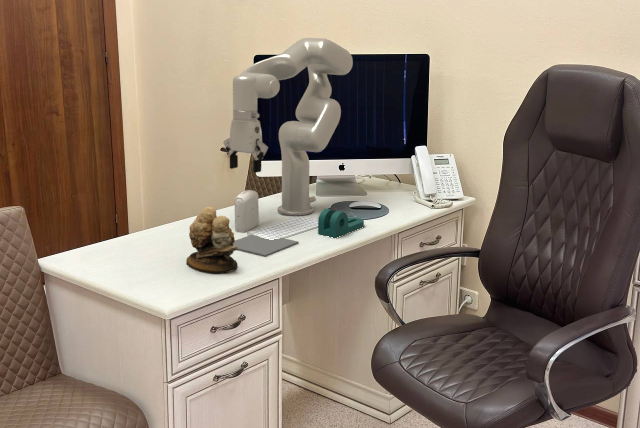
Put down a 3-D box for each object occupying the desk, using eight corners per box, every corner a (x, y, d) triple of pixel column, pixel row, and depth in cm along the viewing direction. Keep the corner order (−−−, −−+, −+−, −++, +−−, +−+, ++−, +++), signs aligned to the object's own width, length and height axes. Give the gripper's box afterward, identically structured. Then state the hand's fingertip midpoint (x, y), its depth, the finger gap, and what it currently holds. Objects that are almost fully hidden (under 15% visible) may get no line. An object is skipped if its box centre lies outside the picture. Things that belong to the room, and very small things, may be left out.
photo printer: (244, 233, 233) (244, 195, 229) (233, 231, 234) (232, 193, 231) (260, 225, 242) (260, 188, 238) (249, 223, 243) (248, 187, 240)
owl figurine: (251, 268, 202) (250, 208, 197) (218, 279, 193) (216, 217, 189) (208, 253, 213) (206, 196, 209) (175, 263, 205) (172, 204, 200)
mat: (257, 234, 232) (257, 232, 232) (298, 243, 223) (298, 241, 223) (223, 246, 219) (223, 244, 219) (265, 257, 210) (265, 255, 210)
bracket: (335, 239, 229) (335, 214, 226) (318, 235, 232) (318, 211, 230) (367, 226, 242) (368, 203, 240) (350, 222, 246) (351, 200, 244)
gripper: (274, 117, 227) (274, 171, 231) (232, 112, 236) (232, 164, 240) (258, 119, 221) (258, 175, 225) (216, 114, 230) (216, 168, 234)
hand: (245, 170), depth 233 cm, fingers open, 9 cm apart
